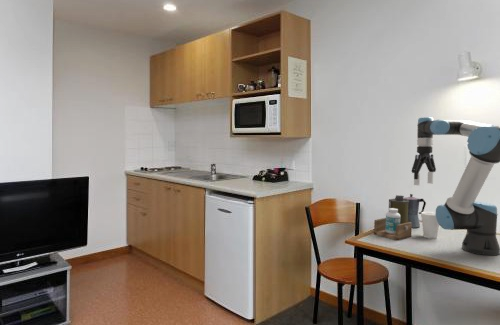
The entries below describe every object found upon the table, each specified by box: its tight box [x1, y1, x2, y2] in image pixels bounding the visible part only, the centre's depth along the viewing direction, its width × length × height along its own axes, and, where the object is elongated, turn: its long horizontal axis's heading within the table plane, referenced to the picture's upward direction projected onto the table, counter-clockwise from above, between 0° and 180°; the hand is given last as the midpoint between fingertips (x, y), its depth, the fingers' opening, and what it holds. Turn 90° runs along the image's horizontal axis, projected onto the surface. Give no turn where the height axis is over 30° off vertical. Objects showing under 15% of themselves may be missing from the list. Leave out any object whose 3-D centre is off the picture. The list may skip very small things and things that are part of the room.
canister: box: [388, 194, 409, 224], centre depth 202 cm, size 11×10×20 cm
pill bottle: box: [385, 207, 400, 234], centre depth 188 cm, size 8×7×14 cm
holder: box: [373, 217, 413, 241], centre depth 188 cm, size 17×12×8 cm
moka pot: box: [403, 193, 427, 229], centre depth 207 cm, size 10×15×20 cm, turn 40°
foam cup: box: [420, 211, 440, 239], centre depth 185 cm, size 10×9×13 cm
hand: (423, 184), depth 187 cm, fingers open, 13 cm apart
